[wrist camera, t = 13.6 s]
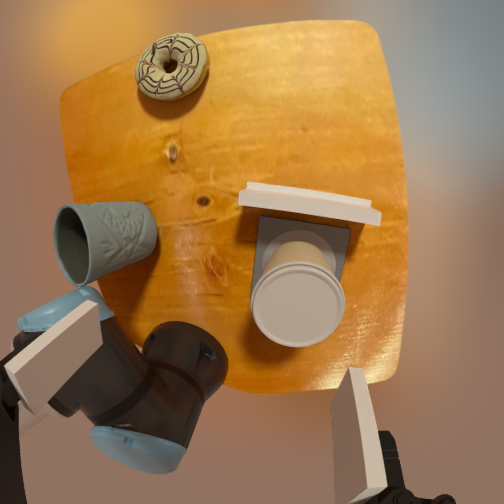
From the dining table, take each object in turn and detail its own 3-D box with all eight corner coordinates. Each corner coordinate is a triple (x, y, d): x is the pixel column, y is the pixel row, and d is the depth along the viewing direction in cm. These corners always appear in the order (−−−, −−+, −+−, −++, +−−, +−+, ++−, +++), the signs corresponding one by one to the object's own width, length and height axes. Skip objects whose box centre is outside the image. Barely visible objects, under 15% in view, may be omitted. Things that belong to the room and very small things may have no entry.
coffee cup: (284, 308, 40) (279, 361, 28) (249, 254, 38) (230, 293, 27) (343, 279, 37) (360, 326, 26) (311, 220, 35) (319, 246, 24)
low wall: (365, 222, 35) (378, 232, 29) (246, 204, 37) (237, 211, 31) (369, 199, 34) (383, 206, 28) (248, 181, 36) (239, 184, 30)
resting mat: (332, 309, 39) (332, 311, 39) (250, 297, 41) (250, 299, 40) (349, 228, 36) (350, 229, 35) (260, 215, 37) (259, 216, 36)
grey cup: (155, 191, 36) (81, 195, 25) (167, 264, 37) (98, 288, 27) (112, 204, 40) (48, 212, 30) (123, 267, 42) (61, 287, 31)
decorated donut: (158, 37, 31) (147, 28, 27) (223, 44, 30) (215, 33, 27) (135, 97, 34) (121, 92, 31) (198, 108, 34) (188, 103, 30)
